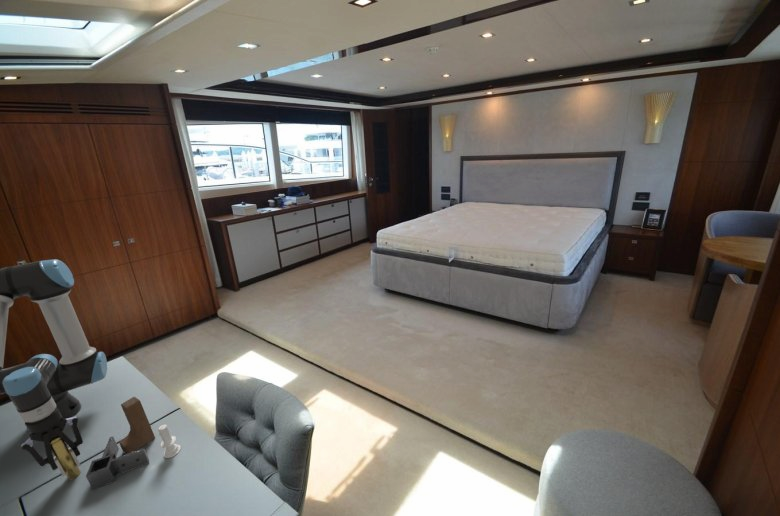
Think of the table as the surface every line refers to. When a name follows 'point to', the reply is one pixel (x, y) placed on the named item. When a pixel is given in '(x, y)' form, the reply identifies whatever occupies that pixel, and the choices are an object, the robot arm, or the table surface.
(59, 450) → the hinge pin
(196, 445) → the table surface
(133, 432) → the wooden block
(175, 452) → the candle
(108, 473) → the square tube bracket
